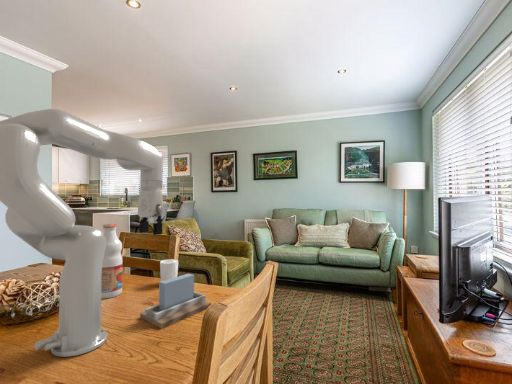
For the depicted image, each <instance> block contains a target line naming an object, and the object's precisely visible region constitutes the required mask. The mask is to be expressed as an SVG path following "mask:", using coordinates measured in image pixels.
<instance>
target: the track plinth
mask: <svg viewBox="0 0 512 384" xmlns="http://www.w3.org/2000/svg"><path fill="white" fill-rule="evenodd" d="M210 305H211V306H212V302H211V301H208V300H207V295H205V294H203V293H200V292H197V291H194V299H192V300H189V301H186V302H184V303H181V304H179V305H176V306H173V307H171V308H168V309H165V310H163V311H160V312H159V303H158V304H156V305H152V306H150V307H147V308H145V309H144V311H142V312H140V313H139V317H140V318H141V319H142V320H144V321H146V322H148V324H149V323H150V324H151V325H153V326H155V327H157V328H159V329H161V330H162V329H165V328H167V327H168V326H170V325H173V324H175V323H178V322H180V321H182V320H185V319H187V318H190V317H191V316H194V315H196V314H198V313H200V312H203V311H205V310H207V308H208V307H209V306H210ZM208 309H209V308H208Z"/></svg>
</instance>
